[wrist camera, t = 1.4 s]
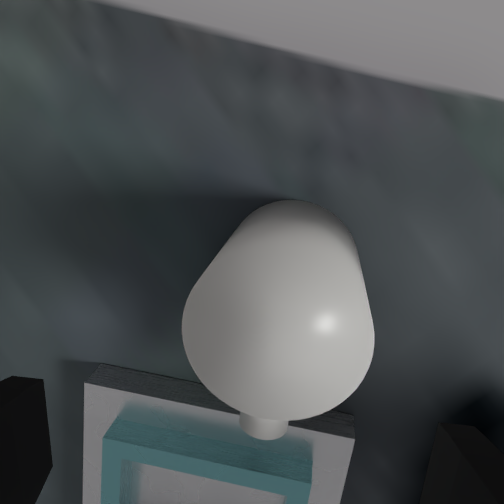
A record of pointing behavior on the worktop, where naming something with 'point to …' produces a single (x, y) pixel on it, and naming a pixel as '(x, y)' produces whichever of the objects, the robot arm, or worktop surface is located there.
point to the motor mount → (201, 447)
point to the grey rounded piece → (281, 318)
